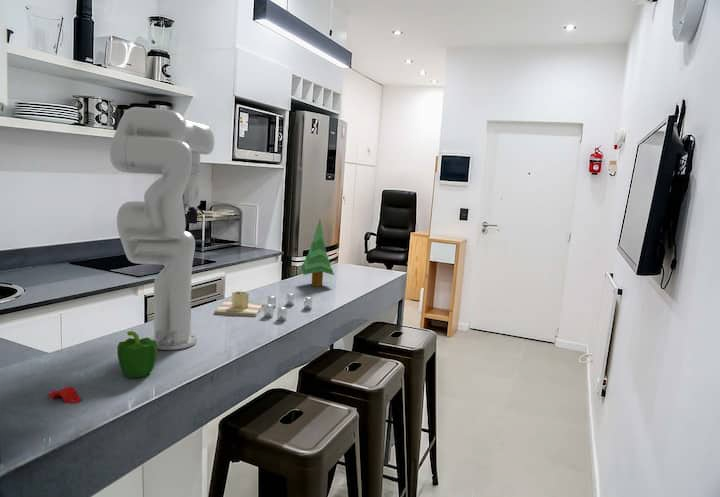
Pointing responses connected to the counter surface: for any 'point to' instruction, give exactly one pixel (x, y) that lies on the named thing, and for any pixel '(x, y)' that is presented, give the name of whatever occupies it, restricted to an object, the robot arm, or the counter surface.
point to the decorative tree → (317, 259)
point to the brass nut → (240, 300)
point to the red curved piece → (66, 395)
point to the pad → (228, 310)
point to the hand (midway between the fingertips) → (186, 224)
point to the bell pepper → (137, 355)
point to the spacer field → (283, 310)
